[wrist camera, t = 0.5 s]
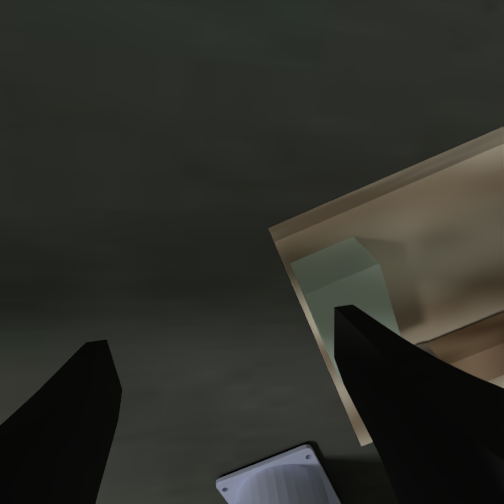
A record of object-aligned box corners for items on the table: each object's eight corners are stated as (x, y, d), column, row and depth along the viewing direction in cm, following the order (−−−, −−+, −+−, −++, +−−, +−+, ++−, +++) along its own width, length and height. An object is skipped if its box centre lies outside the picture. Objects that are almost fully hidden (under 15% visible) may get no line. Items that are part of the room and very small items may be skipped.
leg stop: (380, 321, 22) (406, 357, 19) (323, 344, 22) (341, 383, 19) (353, 236, 20) (379, 263, 17) (289, 263, 20) (305, 294, 17)
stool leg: (404, 384, 24) (420, 409, 22) (394, 354, 23) (411, 377, 21) (582, 313, 23) (614, 333, 22) (582, 278, 22) (615, 296, 20)
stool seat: (547, 345, 28) (571, 364, 26) (351, 422, 28) (361, 446, 27) (533, 113, 20) (566, 116, 18) (268, 228, 21) (274, 242, 19)
